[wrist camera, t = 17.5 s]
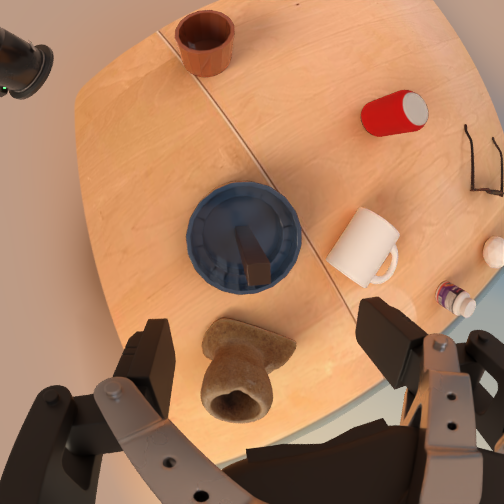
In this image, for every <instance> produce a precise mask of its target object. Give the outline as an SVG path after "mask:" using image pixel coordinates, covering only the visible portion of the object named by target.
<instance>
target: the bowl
mask: <svg viewBox="0 0 504 504" xmlns="http://www.w3.org/2000/svg"><path fill="white" fill-rule="evenodd" d="M235 226H249V227H250V229H251V231H252V233H253V234H254V236H255V238H256V239H257V241H258V243H259V245H260V246H261V248H262V250H263V251H264V253H265V255H266V257H267V258H268V260H269V262H270V272H271V284H265V285H254V286H248V283H247V279H246V276H245V272H244V268H243V264H242V261H241V257H240V253H239V249H238V246H237V242H236V234H235ZM186 241H187V250H188V255H189V257H190V260H191V262H192V264H193V266H194V268H195V270H196V271H197V272H198V273H199V275H200V276H201V277H202V278H203V279H204V280H205V281H206V282H207V283H209V284H210V285H212V286H214V287H216V288H217V289H219V290H221V291H224V292H228V293H233V294H238V295H243V294H254V293H259V292H261V291H264V290H266V289H269V288H271V287H273V286H274V285H276V284H277V283H278V282H280V281H281V280H282V279H283V278H285V277H286V276H287V274H288V273H289V272H290V270H291V269H292V267H293V266H294V264H295V263H296V261H297V258H298V255H299V252H300V248H301V225H300V222H299V219H298V216H297V213H296V211H295V209H294V208H293V207H292V205H291V204H290V203H289V202H288V200H287V199H286V198H285V196H283V195H282V194H280V193H279V192H277V191H276V190H274V189H273V188H271V187H269V186H266V185H263V184H259V183H255V182H252V181H235V182H229V183H226V184H224V185H221V186H219V187H216V188H214V189H213V190H212V191H211V192H210V193H208V194H207V195H206V196H205V197H204V198H203V199H202V200H201V201H200V202H199V204H198V206H197V207H196V209H195V211H194V212H193V214H192V216H191V217H190V220H189V225H188V229H187V234H186Z"/></svg>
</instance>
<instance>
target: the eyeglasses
mask: <svg viewBox="0 0 504 504" xmlns="http://www.w3.org/2000/svg"><path fill="white" fill-rule="evenodd" d="M465 132H466V134H467V136H468V138H469V140H470V144H471V190H470V191H486V192H487V193H489V194H493V195H499V196H501V197H503V194H504V192H503V158H502V152H501V150H500V148H499V147H498V145H497V144H496V142H495V139H494V137H492V140H493V142H494V144H495V146H496V147H497V149H498V150H499V152H500V156H501V191H498V190H490V189H489V188H480V189H474V153H473V142H472V139H471V137H470V135H469V133H468V131H467V125H466V124H465Z"/></svg>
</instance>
